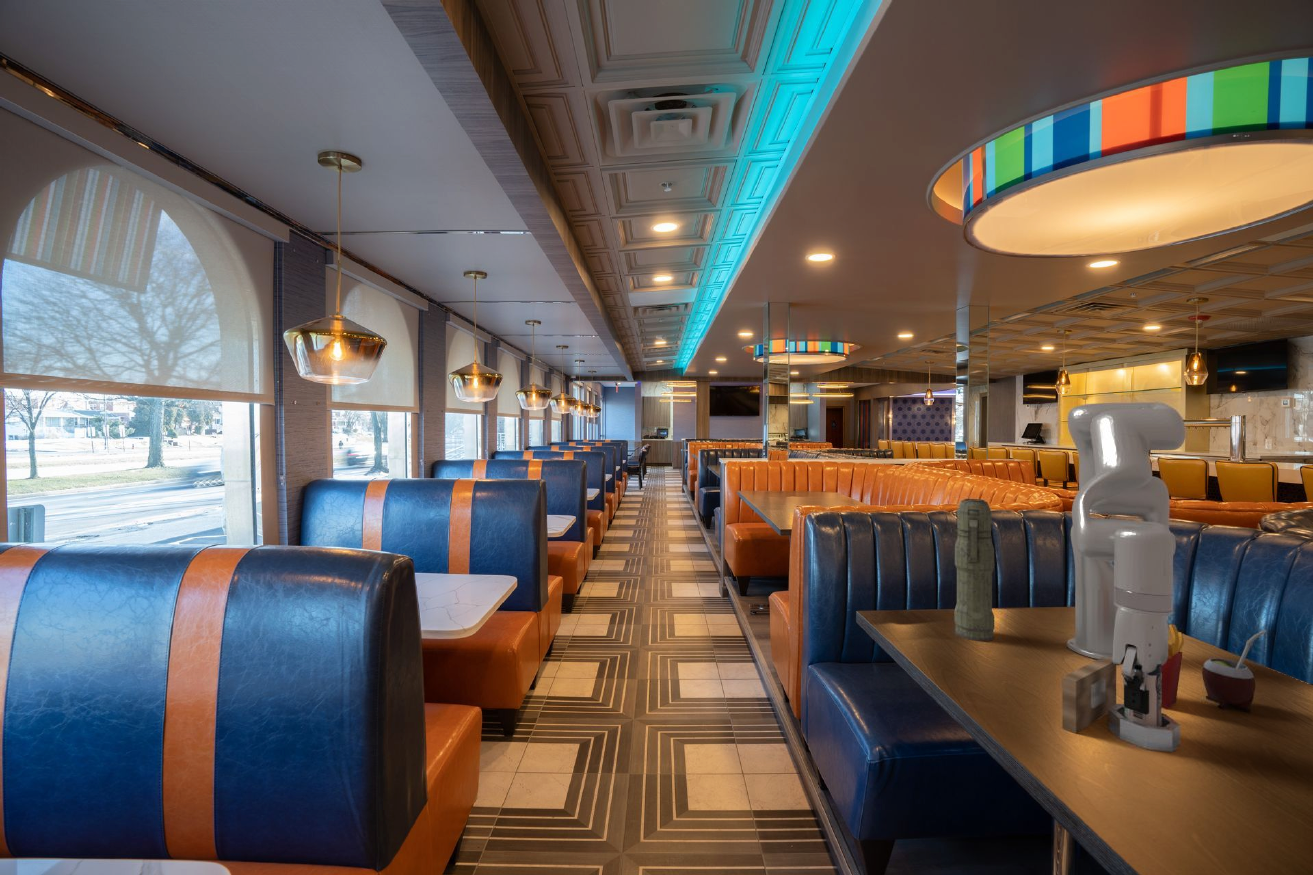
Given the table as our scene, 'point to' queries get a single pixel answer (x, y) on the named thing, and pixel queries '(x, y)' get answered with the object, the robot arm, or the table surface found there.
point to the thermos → (974, 571)
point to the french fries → (1172, 669)
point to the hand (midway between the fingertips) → (1142, 705)
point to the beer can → (1154, 700)
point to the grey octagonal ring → (1144, 731)
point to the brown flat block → (1088, 694)
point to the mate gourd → (1230, 680)
